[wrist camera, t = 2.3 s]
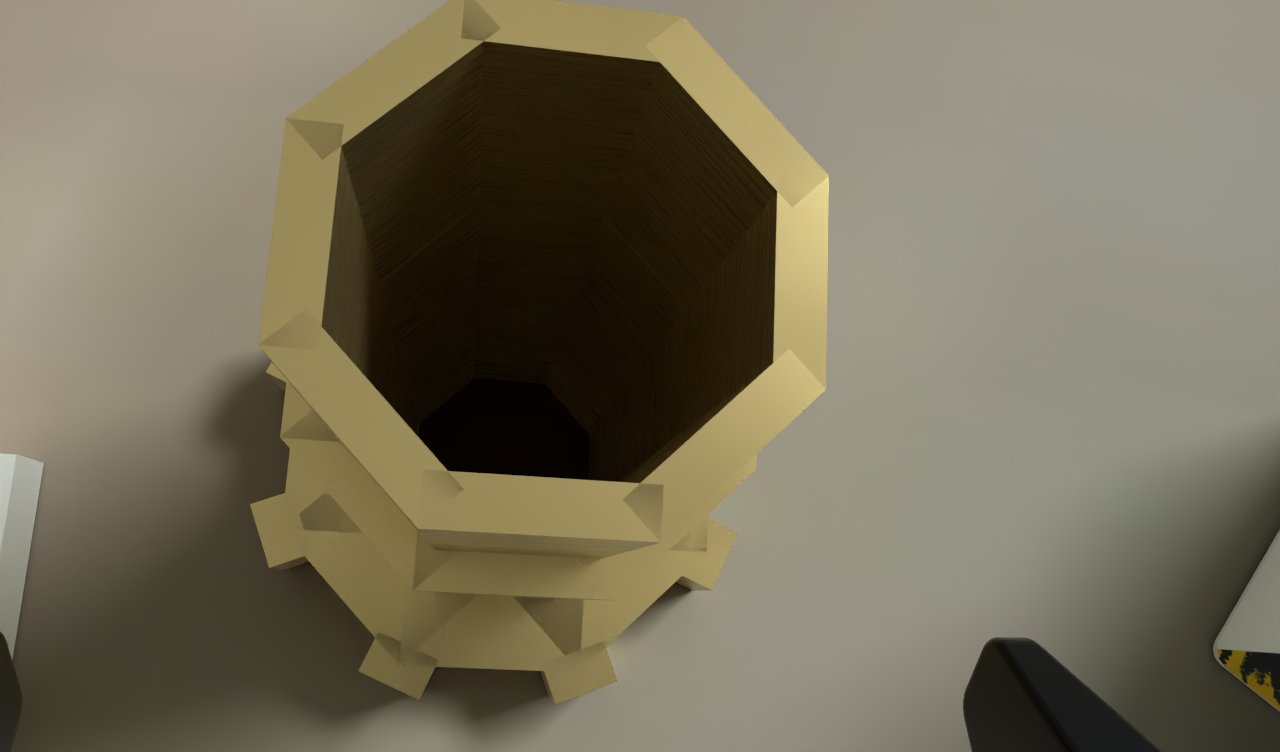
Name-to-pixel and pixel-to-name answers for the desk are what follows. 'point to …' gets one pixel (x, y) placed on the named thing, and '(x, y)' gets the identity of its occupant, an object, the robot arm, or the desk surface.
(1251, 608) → the white pill bottle
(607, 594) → the yellow octagonal tube
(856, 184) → the desk surface
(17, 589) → the gear board
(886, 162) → the desk surface
